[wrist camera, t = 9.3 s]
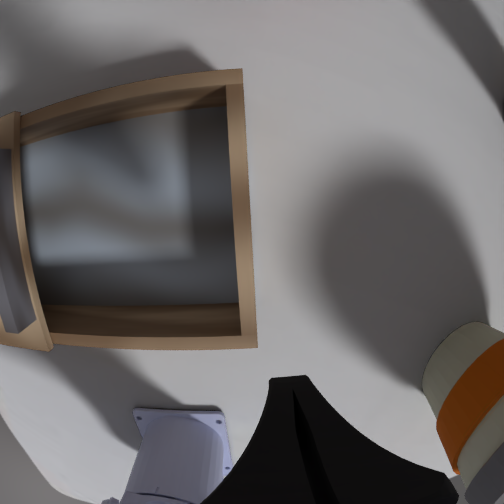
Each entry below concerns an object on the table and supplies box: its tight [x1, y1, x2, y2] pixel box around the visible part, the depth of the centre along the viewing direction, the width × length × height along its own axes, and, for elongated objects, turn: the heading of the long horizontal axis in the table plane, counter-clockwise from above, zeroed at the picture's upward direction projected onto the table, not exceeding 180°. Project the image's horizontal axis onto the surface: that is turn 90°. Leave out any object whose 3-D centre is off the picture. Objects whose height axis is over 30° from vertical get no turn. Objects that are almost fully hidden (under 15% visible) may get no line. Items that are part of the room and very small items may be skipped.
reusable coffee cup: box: [422, 322, 504, 504], centre depth 15 cm, size 13×13×15 cm
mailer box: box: [20, 69, 258, 350], centre depth 17 cm, size 14×20×5 cm
